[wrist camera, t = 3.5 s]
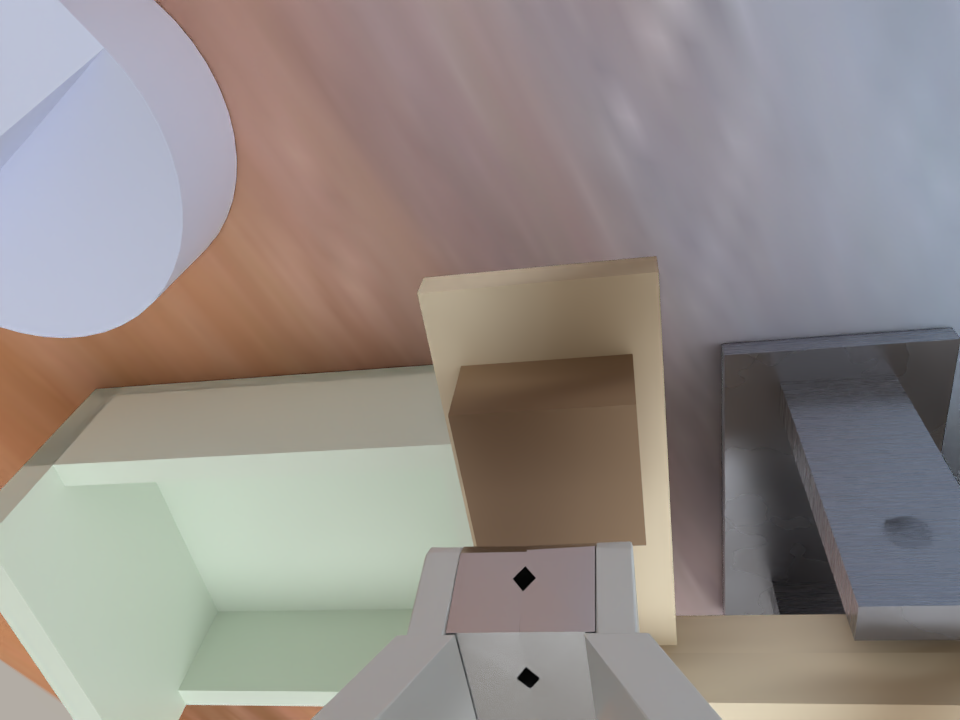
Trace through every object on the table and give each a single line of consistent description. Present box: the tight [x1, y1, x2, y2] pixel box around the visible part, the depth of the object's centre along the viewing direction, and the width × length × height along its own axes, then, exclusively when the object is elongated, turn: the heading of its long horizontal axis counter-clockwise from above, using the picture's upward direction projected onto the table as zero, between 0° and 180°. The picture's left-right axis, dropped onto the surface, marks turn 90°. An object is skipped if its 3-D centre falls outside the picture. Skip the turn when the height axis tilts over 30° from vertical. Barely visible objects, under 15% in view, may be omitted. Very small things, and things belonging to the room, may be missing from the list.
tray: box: [0, 365, 474, 720], centre depth 25 cm, size 13×11×7 cm
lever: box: [417, 256, 960, 720], centre depth 16 cm, size 18×15×6 cm
